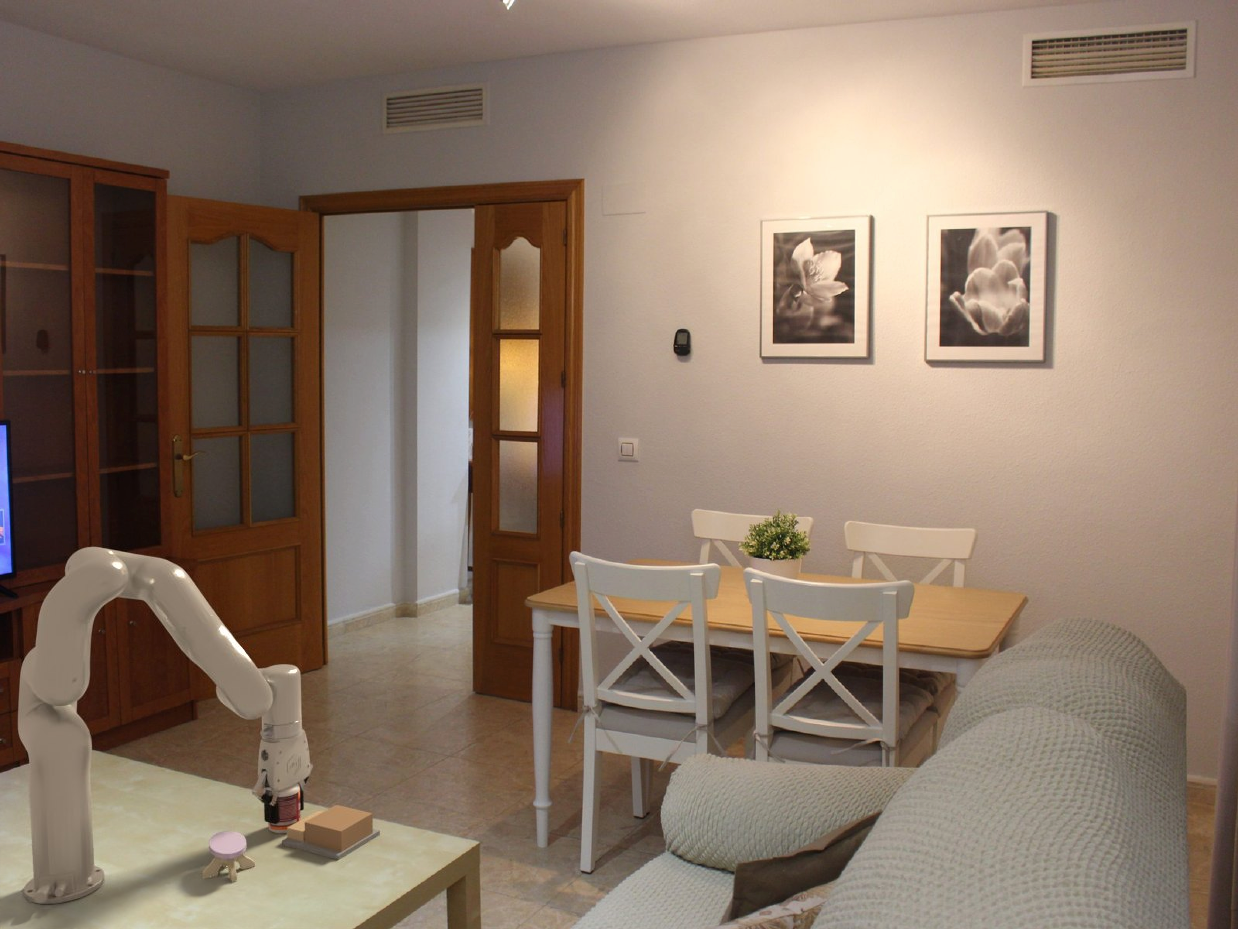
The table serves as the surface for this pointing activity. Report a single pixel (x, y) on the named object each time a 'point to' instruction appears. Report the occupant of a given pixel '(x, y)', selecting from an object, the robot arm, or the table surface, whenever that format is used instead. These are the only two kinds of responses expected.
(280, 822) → the pill bottle
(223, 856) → the toy table
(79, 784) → the robot arm
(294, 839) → the stand
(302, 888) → the table surface
